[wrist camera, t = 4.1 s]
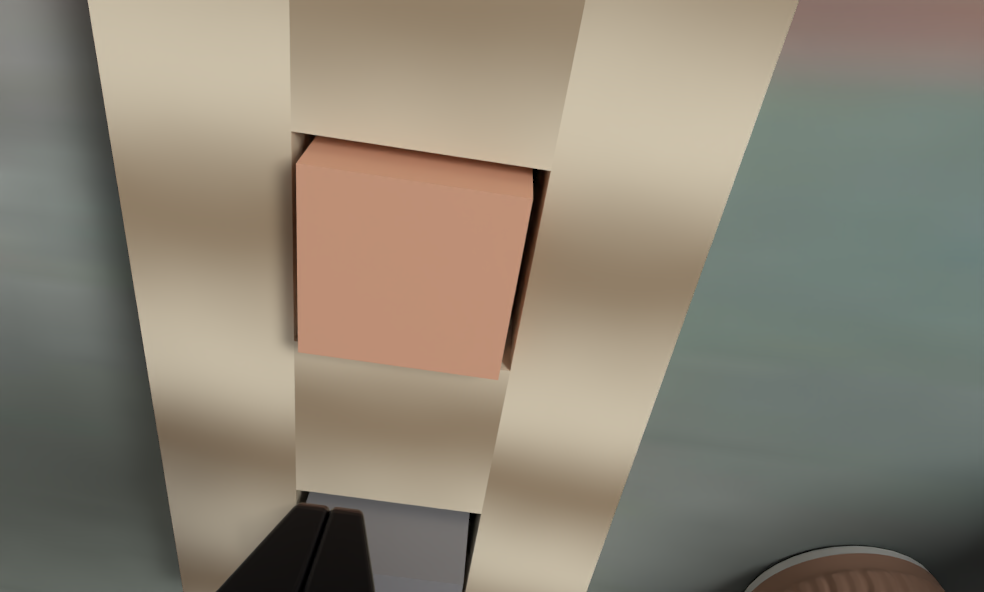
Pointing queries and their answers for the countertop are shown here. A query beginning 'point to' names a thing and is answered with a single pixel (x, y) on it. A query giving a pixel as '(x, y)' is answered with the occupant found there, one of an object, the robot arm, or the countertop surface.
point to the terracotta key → (408, 255)
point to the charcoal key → (410, 543)
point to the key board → (443, 130)
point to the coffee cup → (847, 572)
